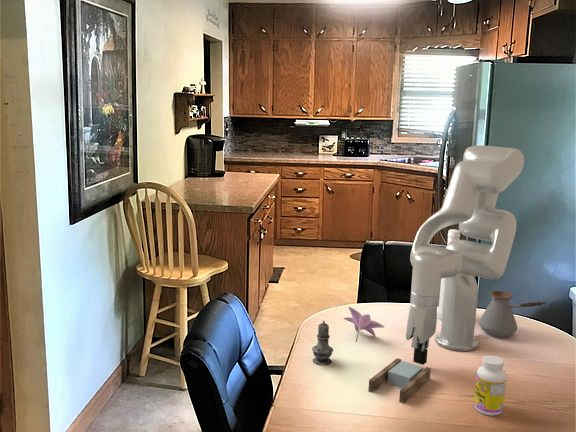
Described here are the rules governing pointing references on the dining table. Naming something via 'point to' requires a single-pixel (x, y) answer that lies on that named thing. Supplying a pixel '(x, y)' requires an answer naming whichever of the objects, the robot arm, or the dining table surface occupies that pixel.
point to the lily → (362, 322)
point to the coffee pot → (501, 315)
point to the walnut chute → (407, 389)
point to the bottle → (452, 236)
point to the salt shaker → (322, 346)
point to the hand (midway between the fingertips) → (419, 362)
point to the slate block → (403, 373)
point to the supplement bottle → (490, 386)
